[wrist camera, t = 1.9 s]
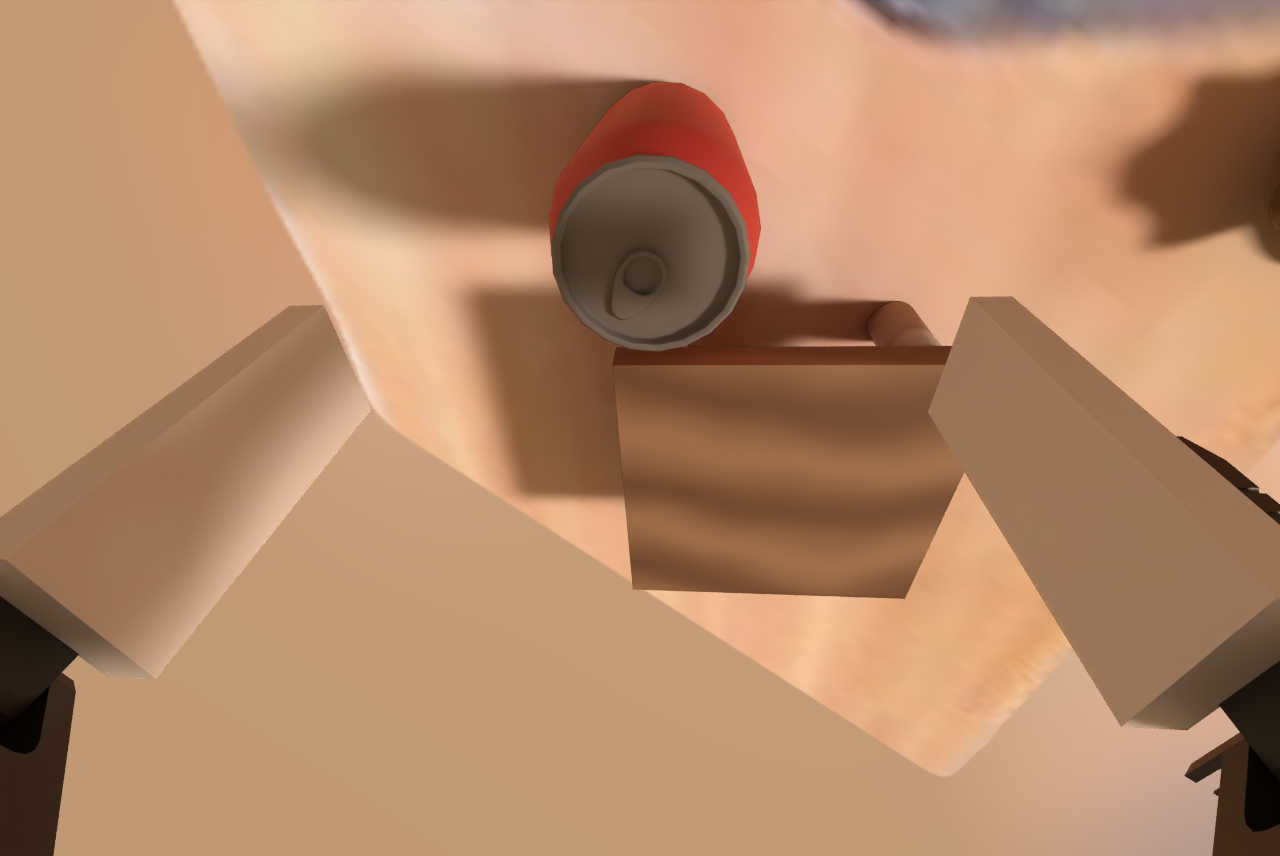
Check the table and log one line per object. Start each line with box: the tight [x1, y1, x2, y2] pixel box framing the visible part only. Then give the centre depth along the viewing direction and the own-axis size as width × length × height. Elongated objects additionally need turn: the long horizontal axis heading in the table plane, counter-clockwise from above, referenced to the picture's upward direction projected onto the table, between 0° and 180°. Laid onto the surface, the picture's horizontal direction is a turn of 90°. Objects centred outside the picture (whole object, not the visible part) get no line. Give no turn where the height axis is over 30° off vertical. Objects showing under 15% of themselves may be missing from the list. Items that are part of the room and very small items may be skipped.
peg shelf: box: [613, 302, 964, 599], centre depth 29 cm, size 16×16×8 cm
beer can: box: [549, 82, 761, 351], centre depth 19 cm, size 7×7×12 cm
